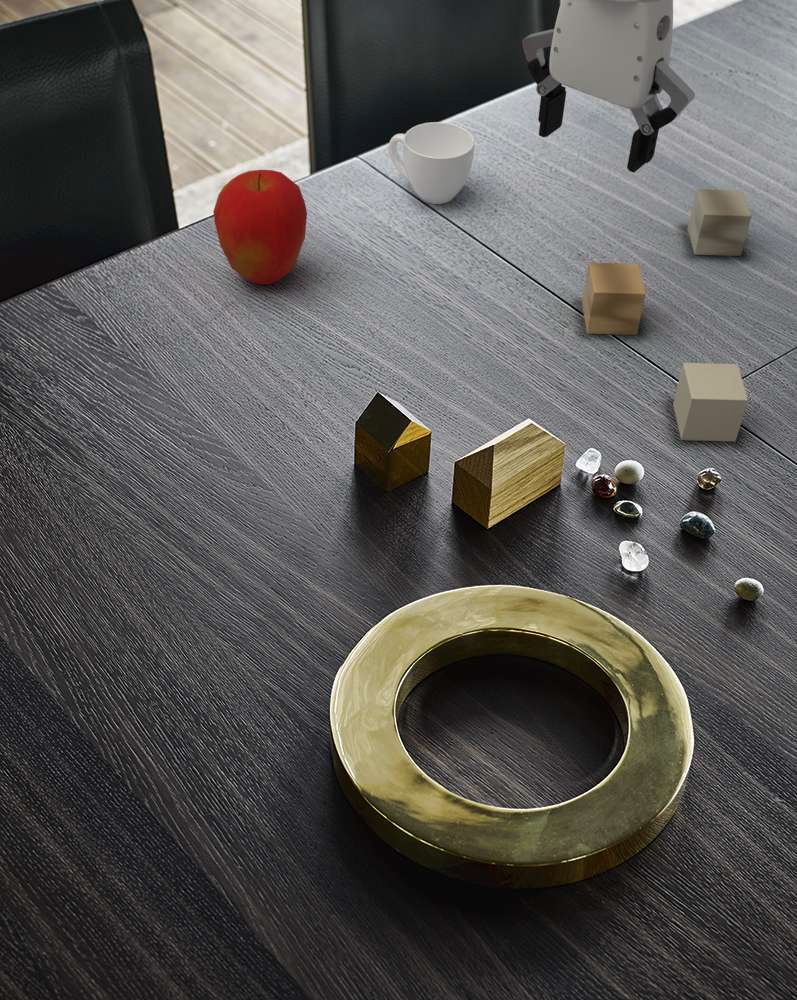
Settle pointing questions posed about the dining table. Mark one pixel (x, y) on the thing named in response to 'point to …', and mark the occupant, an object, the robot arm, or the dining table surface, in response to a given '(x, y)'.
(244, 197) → the apple
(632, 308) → the maple block
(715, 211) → the ash block
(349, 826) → the dining table surface
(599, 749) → the dining table surface
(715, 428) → the cream block
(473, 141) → the cup
